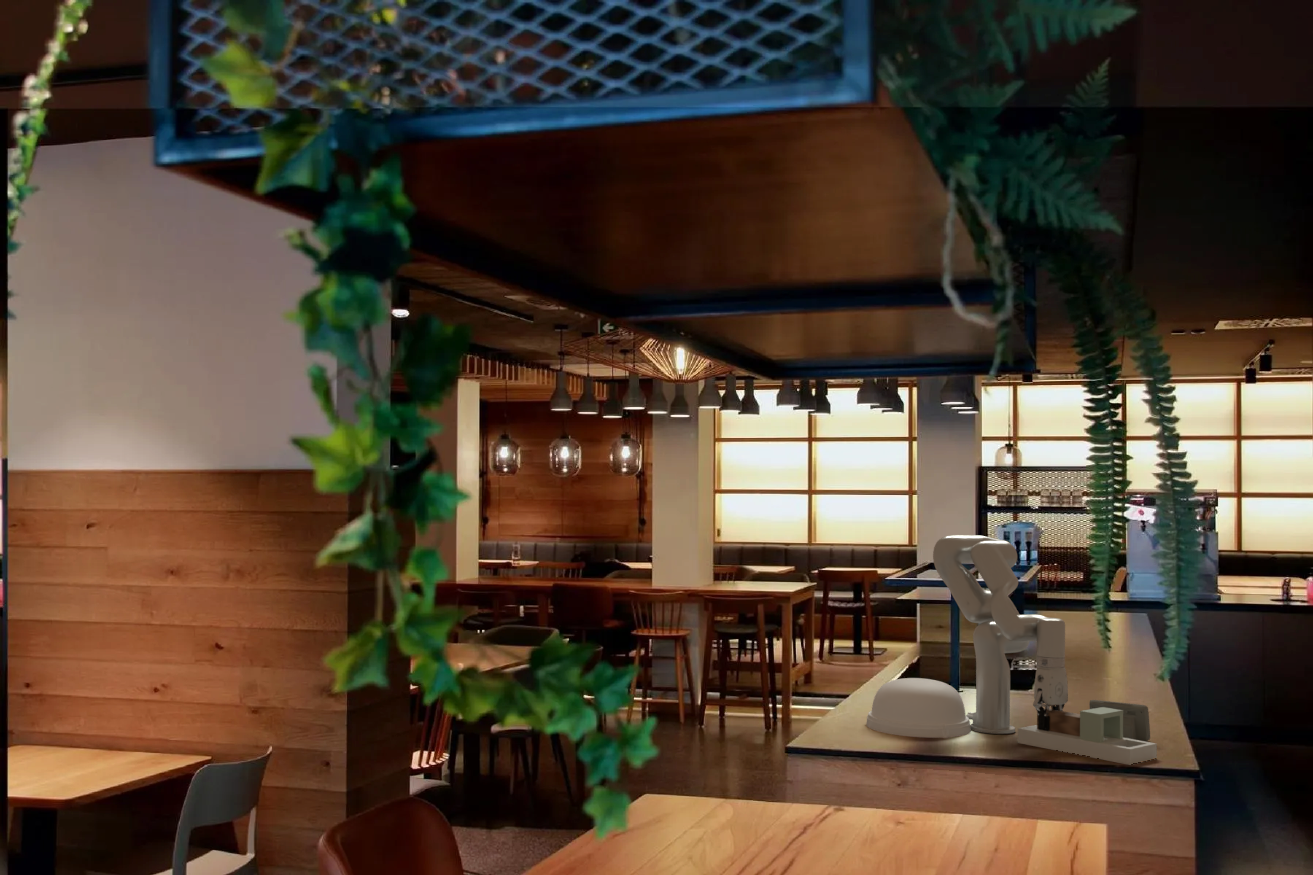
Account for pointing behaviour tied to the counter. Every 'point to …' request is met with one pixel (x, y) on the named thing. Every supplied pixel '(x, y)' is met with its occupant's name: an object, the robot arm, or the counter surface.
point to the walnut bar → (1064, 722)
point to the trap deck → (1090, 745)
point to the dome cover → (918, 709)
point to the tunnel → (1101, 724)
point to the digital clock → (1129, 718)
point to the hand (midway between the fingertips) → (1049, 728)
